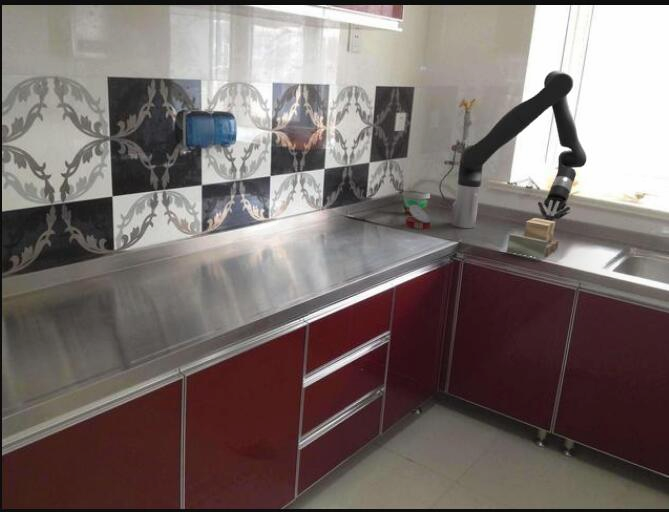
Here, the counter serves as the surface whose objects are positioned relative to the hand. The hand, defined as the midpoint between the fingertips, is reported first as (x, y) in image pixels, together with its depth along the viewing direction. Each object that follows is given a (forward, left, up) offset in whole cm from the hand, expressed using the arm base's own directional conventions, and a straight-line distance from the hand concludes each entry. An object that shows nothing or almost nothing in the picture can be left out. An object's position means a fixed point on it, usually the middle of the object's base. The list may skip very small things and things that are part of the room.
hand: (547, 225), depth 247 cm
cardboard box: (0, -10, -4) cm, 11 cm away
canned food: (-47, -15, -8) cm, 50 cm away
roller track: (0, -15, -7) cm, 17 cm away
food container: (-58, +4, -7) cm, 59 cm away
